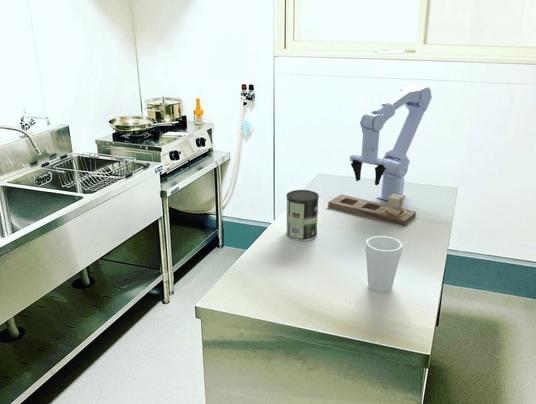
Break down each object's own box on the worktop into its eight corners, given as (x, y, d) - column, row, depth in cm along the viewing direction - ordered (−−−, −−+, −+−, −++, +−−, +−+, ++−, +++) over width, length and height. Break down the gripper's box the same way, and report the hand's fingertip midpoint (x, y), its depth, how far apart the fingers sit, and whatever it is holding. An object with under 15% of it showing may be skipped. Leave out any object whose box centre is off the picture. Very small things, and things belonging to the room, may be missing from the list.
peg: (390, 214, 191) (392, 193, 188) (401, 217, 189) (403, 196, 186) (386, 218, 188) (388, 197, 185) (397, 220, 186) (399, 199, 183)
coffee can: (316, 228, 179) (317, 189, 174) (318, 241, 170) (319, 200, 164) (285, 228, 179) (286, 189, 174) (285, 241, 170) (286, 200, 165)
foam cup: (373, 274, 150) (377, 232, 145) (403, 285, 144) (408, 242, 139) (356, 287, 143) (359, 244, 138) (387, 299, 137) (391, 254, 133)
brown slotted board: (340, 199, 205) (341, 193, 205) (415, 216, 189) (416, 211, 188) (328, 206, 198) (328, 201, 197) (404, 225, 182) (405, 220, 181)
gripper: (346, 146, 191) (344, 181, 196) (384, 152, 183) (381, 189, 188) (355, 141, 197) (353, 176, 201) (392, 148, 189) (389, 184, 194)
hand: (367, 182), depth 195 cm, fingers open, 7 cm apart
